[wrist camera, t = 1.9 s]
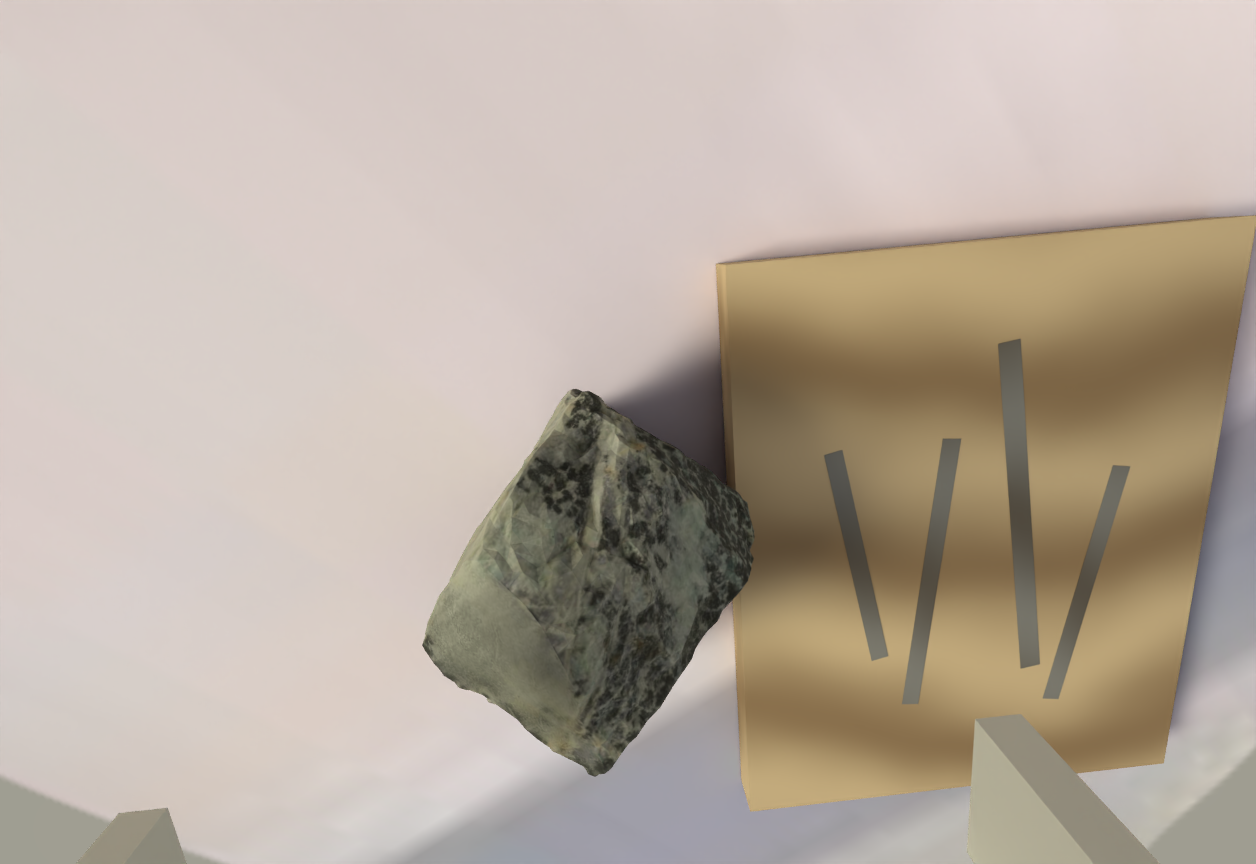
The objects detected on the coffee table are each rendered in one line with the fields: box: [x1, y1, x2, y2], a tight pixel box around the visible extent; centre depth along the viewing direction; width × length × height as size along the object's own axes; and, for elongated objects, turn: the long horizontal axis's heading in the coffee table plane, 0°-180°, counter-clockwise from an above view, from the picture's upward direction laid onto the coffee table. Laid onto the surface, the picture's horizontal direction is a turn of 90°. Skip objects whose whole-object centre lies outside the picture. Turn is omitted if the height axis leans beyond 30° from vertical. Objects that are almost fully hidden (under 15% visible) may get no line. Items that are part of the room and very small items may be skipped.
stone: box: [422, 389, 755, 777], centre depth 19 cm, size 10×10×10 cm
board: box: [716, 215, 1256, 812], centre depth 23 cm, size 20×16×2 cm
